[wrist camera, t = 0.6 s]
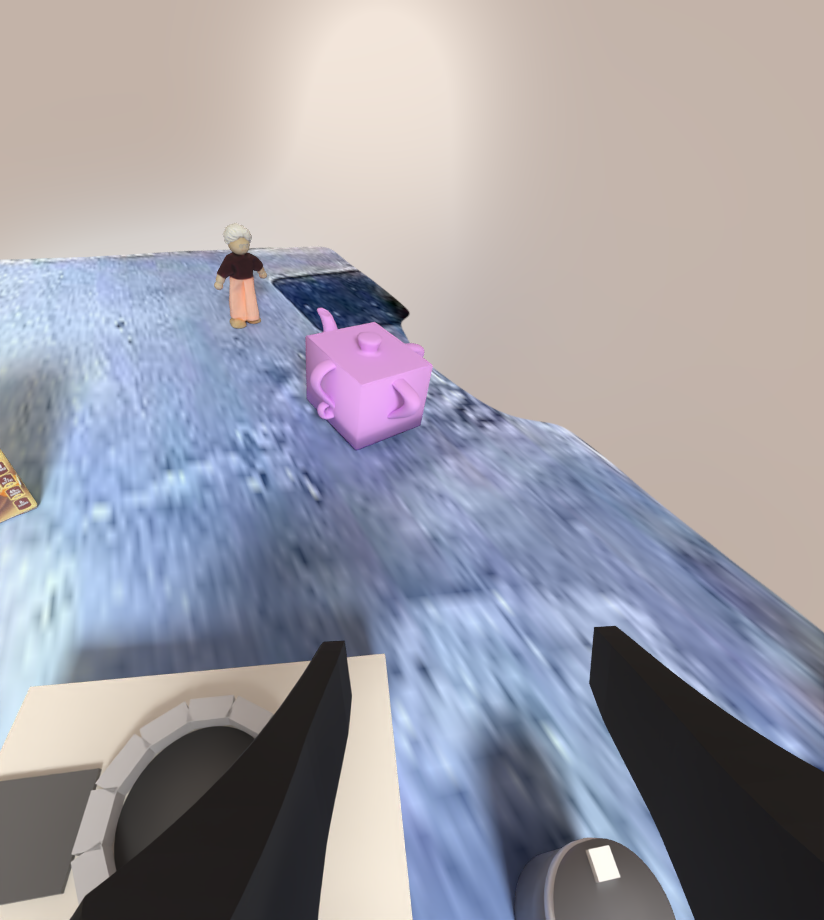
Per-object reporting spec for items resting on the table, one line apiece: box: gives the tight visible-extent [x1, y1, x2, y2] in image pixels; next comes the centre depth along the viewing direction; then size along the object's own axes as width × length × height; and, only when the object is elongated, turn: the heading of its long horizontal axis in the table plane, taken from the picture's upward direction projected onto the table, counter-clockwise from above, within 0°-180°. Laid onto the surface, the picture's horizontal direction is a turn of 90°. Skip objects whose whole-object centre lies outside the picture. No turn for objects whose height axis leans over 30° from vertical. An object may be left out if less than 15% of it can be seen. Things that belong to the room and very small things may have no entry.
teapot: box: [306, 308, 432, 450], centre depth 45 cm, size 18×14×10 cm
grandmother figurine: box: [214, 223, 267, 328], centre depth 56 cm, size 8×4×13 cm, turn 152°
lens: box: [514, 838, 676, 920], centre depth 19 cm, size 5×5×6 cm
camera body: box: [0, 654, 413, 920], centre depth 20 cm, size 12×18×5 cm, turn 99°
